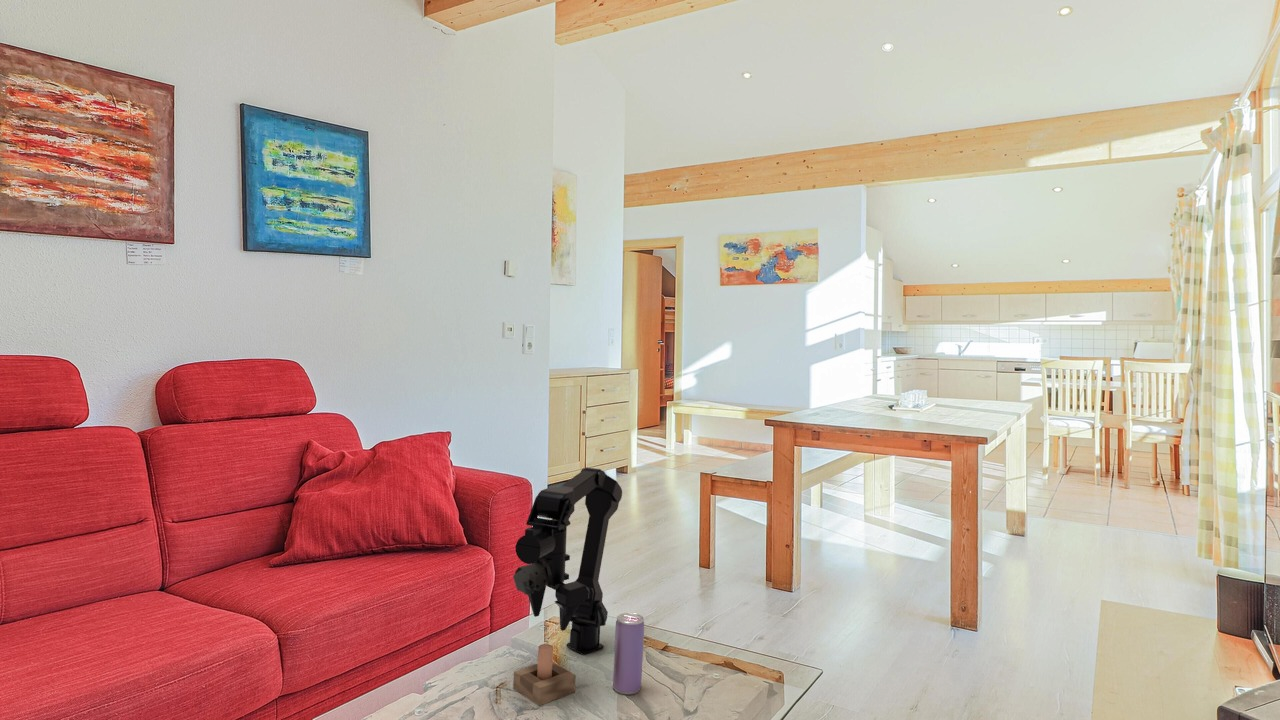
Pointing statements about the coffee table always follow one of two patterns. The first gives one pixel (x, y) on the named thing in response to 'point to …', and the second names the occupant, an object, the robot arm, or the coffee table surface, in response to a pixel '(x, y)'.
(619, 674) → the beverage can
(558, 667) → the socket
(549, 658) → the peg
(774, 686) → the coffee table surface
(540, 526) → the robot arm
